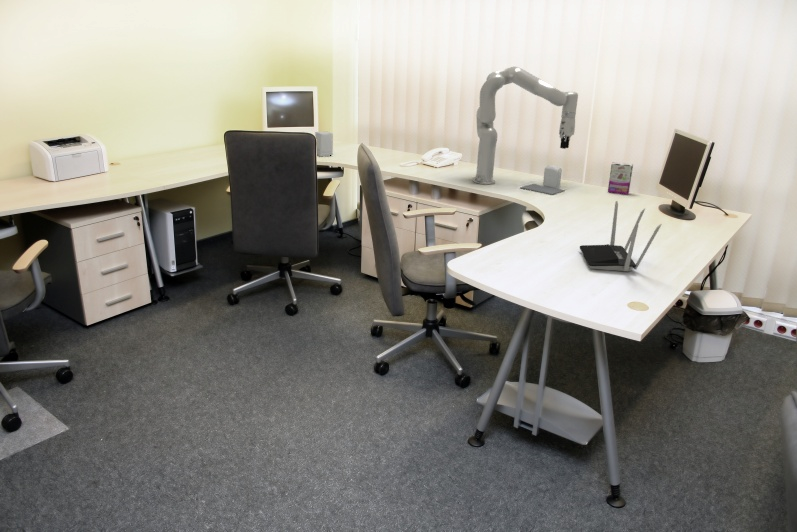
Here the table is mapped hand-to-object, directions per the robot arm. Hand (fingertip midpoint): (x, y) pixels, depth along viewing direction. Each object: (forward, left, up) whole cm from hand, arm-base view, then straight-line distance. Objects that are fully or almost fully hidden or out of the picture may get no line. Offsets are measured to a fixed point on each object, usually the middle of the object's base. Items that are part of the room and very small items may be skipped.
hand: (564, 147), depth 370 cm
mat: (-20, 0, -21) cm, 29 cm away
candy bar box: (+8, -32, -21) cm, 39 cm away
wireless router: (-107, -80, -21) cm, 135 cm away
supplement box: (-48, +146, -21) cm, 155 cm away
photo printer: (-10, 0, -21) cm, 24 cm away
